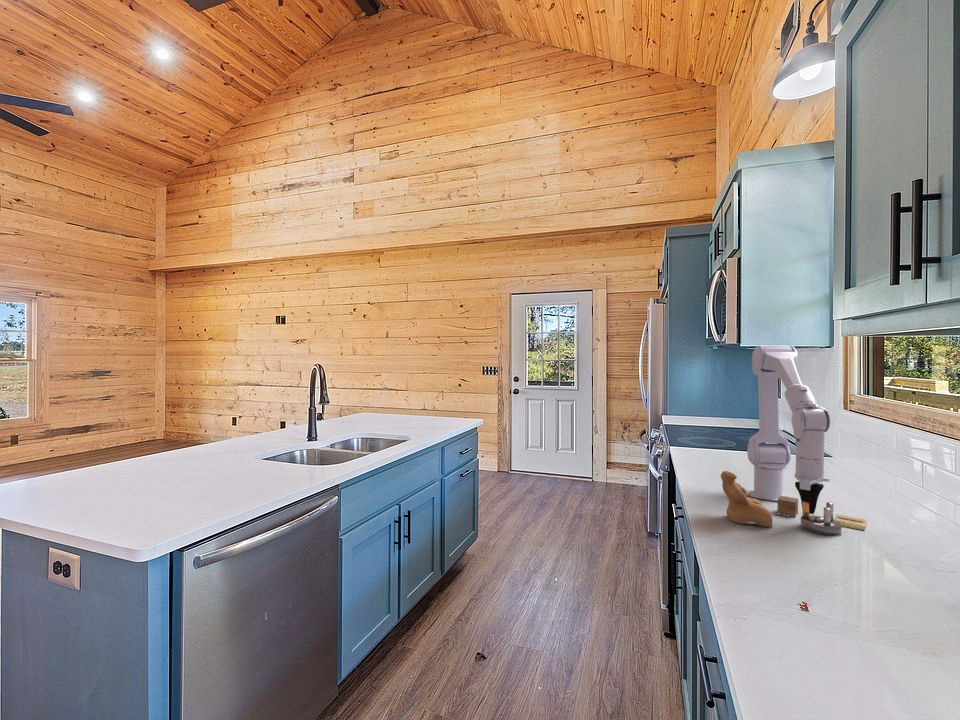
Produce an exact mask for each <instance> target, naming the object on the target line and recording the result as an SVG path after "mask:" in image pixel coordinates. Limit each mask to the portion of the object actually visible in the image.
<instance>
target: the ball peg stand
mask: <svg viewBox="0 0 960 720" xmlns="http://www.w3.org/2000/svg"><path fill="white" fill-rule="evenodd" d="M809 503H810V502H808V501H803V507H802V506H801V507H802V509H801V510H802V511H801V514H802V515H801V517H800V528H801V527H802V528H801V529H803V530H805V531H806V530H807V531H806V532H808V533H812V532H813V534H816V535H820V536H821V535H822V536H831V537H833V536H840V535H842V526H841V525H842V524H841V523H840V522H838V521H836V520H834V519H835V518H834V503H833V502H830V501H826V503H825V504H826V505H825V507H823V516H821V515H814V514H809Z"/></svg>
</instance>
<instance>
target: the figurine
mask: <svg viewBox="0 0 960 720" xmlns="http://www.w3.org/2000/svg"><path fill="white" fill-rule="evenodd" d="M720 479H721V482H722V484H721V485H722V490H723V492H724V493H725V495H726V497H727V499H728V505H727V507H726V516H727V518H728V519H729V520H730V521H732V522H734V523H738V524H744V523H748V522H752V523H754V524H756V525H758V526H761V527H764V528H771V527H773V526H774V525H773V518H772V514H771V512H770V511H769V509H767V507H765V506H763V504H762V502H761V501H760V500H759V499H758V498H754V497H748V496H747V492H748V491H747V490H746V488H744V487H743V486H742V485H741V484H740V483H738V482H736V480H737V474H735V473H734V472H731V471H729V470H727V471H726V470H725V471H724V470H723V471H722V472H721V474H720Z"/></svg>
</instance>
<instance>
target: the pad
mask: <svg viewBox="0 0 960 720" xmlns="http://www.w3.org/2000/svg"><path fill="white" fill-rule="evenodd" d="M833 519H834V520H836V521H838V522H840V523H841V524H842V525H841V527H845V528H850V529H855V530H861V531H865V530H866V528H867V519H865V518H859V517H855V516H848V515H844V514H843V515H842V514H836V515H835V517H834V518H833Z"/></svg>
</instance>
